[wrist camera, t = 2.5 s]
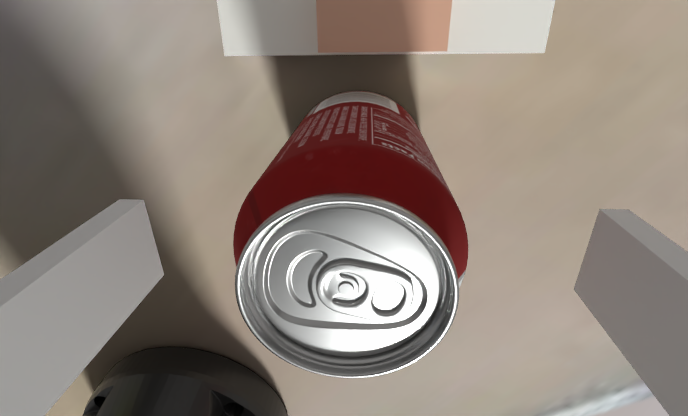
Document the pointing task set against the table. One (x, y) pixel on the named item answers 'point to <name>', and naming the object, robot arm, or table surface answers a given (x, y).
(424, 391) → the table surface
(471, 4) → the board
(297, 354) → the soda can
